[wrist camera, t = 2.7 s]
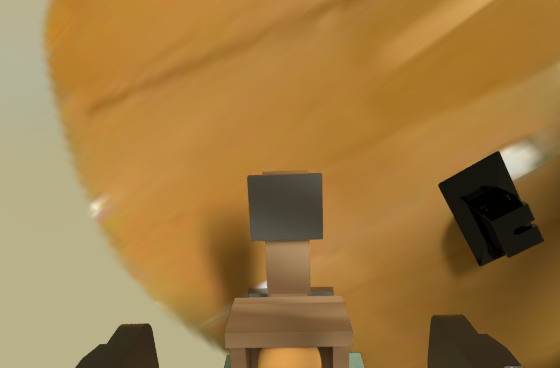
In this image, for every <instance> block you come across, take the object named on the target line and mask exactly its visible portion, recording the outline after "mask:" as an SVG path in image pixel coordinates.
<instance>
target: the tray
mask: <svg viewBox="0 0 560 368" xmlns="http://www.w3.org/2000/svg"><path fill="white" fill-rule="evenodd" d="M224 368H231V362H230V355H227V357H226V361H225V366H224ZM349 368H364V365H363V362H362V358H361V354H360V353H349Z"/></svg>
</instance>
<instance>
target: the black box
mask: <svg viewBox="0 0 560 368" xmlns="http://www.w3.org/2000/svg"><path fill="white" fill-rule="evenodd" d="M438 186H439V188H440V190H441V192H442V194H443V196H444V198H445V200H446V202H447V204H448V206H449V208H450V210H451V212H452V214H453V216H454V217H455V219H456V221H457V223H458V225H459V227H460V229H461V231H462V233H463V235H464V237H465V239H466V241H467V243H468V245H469V247H470V248H471V250H472V252H473V254H474V256H475V258H476V260H477V262H478V264H479V266H483V265H485V264H487V263H489V262H491V261H494V260H496V259H498V258H500V257H502V256H504V255H506V256H507V257H508V258H510V257H512V256H514V255H516V254H518V253H520V252H522V251H524V250H526V249H528V248H531V247H533V246H535V245H537V244H539V243H541V242H543V241H544V239H543V237H542V234H541V232H540V230H539V228H538V226H537V225H535V224H532V225H531V221H533V220H535V219H534V216H533V214H532V212H531V210H530V207H529V205H528V204H527V203H525V202H523V201H521V200H520V198H519V195H518V193H517V191H516V188H515V186H514V184H513V182H512V179H511V177H510V175H509V173H508V170H507V168H506V166H505V163H504V161H503V159H502V157H501V154H500V152H499V151H497V152H495V153H493V154H491V155H489V156H488V157H486V158H484V159H482V160H481V161H479V162H477V163H475V164H473V165H472V166H470V167H468V168H466V169H464V170H463V171H461V172H459V173H457V174H455V175H454V176H452V177H450V178H448V179H447V180H445V181H443V182H441V183H439V185H438Z"/></svg>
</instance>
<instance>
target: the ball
mask: <svg viewBox="0 0 560 368" xmlns="http://www.w3.org/2000/svg"><path fill="white" fill-rule="evenodd" d="M258 368H321V357H320V353H319V351H318V348H317V347H271V348H261V351H260V354H259V358H258Z"/></svg>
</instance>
